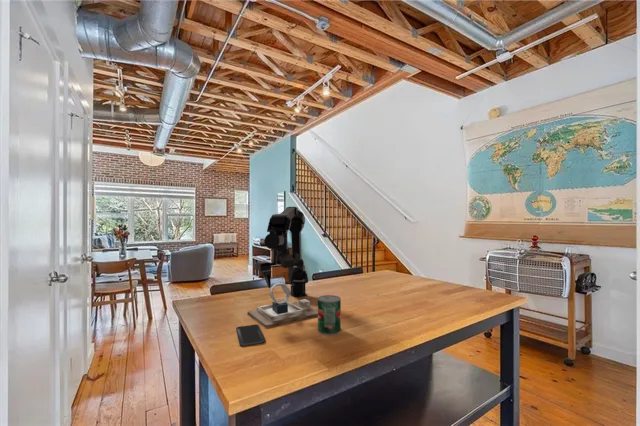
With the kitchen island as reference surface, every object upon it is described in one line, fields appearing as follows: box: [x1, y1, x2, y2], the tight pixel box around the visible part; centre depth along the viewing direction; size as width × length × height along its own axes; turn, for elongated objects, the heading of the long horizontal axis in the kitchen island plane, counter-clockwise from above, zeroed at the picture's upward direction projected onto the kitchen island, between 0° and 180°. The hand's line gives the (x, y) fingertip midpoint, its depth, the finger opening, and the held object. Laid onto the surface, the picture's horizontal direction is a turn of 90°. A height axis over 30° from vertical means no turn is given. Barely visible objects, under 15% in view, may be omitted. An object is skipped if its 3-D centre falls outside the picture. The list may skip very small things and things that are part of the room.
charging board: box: [247, 298, 318, 329], centre depth 119 cm, size 24×18×4 cm
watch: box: [269, 282, 291, 314], centre depth 118 cm, size 6×8×11 cm
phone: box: [235, 324, 266, 348], centre depth 99 cm, size 8×1×15 cm
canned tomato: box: [317, 294, 342, 336], centre depth 103 cm, size 8×8×11 cm
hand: (280, 286), depth 118 cm, fingers open, 9 cm apart
